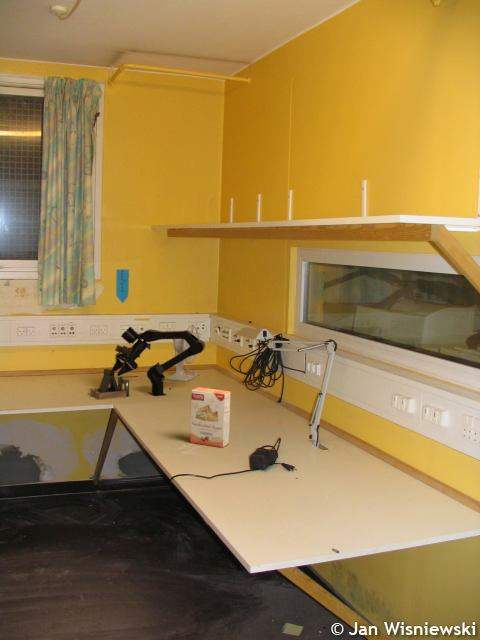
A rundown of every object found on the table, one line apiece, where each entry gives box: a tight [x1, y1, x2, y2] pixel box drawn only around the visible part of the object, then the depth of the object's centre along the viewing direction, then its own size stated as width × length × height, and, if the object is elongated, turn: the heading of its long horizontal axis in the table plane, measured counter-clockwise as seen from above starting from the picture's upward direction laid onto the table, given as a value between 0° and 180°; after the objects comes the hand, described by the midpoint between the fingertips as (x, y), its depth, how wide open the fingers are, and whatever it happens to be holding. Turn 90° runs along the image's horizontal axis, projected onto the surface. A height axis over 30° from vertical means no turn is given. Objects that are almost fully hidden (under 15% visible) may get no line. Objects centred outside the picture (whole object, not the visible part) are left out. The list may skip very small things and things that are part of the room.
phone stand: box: [98, 368, 119, 393], centre depth 344 cm, size 9×6×12 cm, turn 125°
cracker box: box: [190, 386, 231, 449], centre depth 269 cm, size 14×6×21 cm, turn 66°
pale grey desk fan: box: [165, 325, 201, 382], centre depth 395 cm, size 30×22×30 cm
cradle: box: [90, 376, 130, 400], centre depth 345 cm, size 11×16×8 cm
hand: (114, 373), depth 345 cm, fingers open, 9 cm apart
